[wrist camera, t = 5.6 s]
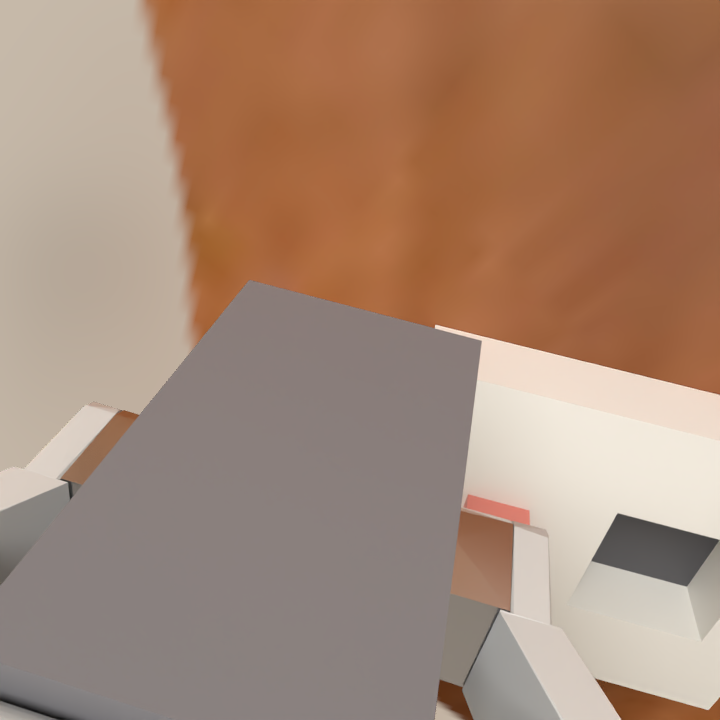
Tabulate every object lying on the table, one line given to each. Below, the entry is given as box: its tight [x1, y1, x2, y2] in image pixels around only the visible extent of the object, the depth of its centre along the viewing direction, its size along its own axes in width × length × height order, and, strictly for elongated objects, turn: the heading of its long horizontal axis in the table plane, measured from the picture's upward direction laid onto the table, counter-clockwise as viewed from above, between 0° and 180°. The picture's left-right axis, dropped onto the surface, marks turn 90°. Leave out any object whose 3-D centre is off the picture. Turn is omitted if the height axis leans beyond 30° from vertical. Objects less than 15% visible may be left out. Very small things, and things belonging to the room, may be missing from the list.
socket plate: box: [435, 325, 720, 710], centre depth 27 cm, size 16×14×4 cm
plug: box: [0, 280, 482, 720], centre depth 9 cm, size 4×4×7 cm
